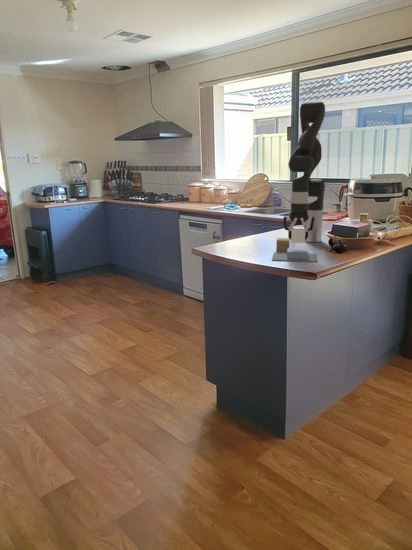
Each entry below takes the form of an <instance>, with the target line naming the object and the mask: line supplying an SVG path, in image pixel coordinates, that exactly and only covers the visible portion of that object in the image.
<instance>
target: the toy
mask: <svg viewBox="0 0 412 550" xmlns="http://www.w3.org/2000/svg"><path fill="white" fill-rule="evenodd" d="M334 236H335V237H336V236H337V235H334ZM327 243H328V246H329V247H330V248H327V252H333V253H341V252H342V251H343V248H346V247H347V244H343V245H342V243H341V240H339V239H334V240H333V239H332V237H330V238H329V239H328V241H327Z"/></svg>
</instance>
